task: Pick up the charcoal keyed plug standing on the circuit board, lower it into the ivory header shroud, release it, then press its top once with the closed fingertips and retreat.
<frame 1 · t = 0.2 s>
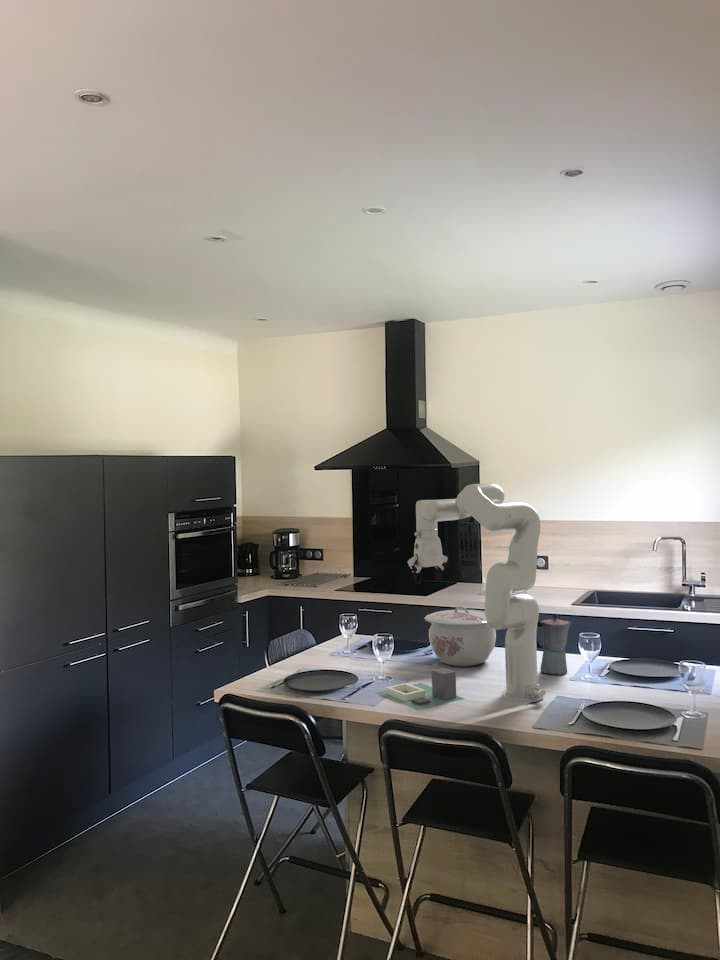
hand: (428, 582, 270), 31 cm above the table, fingers open, 9 cm apart
chamber pot: (463, 662, 278), on the table
board: (419, 699, 233), on the table
plug: (444, 697, 231), point 1 cm above the table, touching board
moka pot: (553, 673, 260), on the table
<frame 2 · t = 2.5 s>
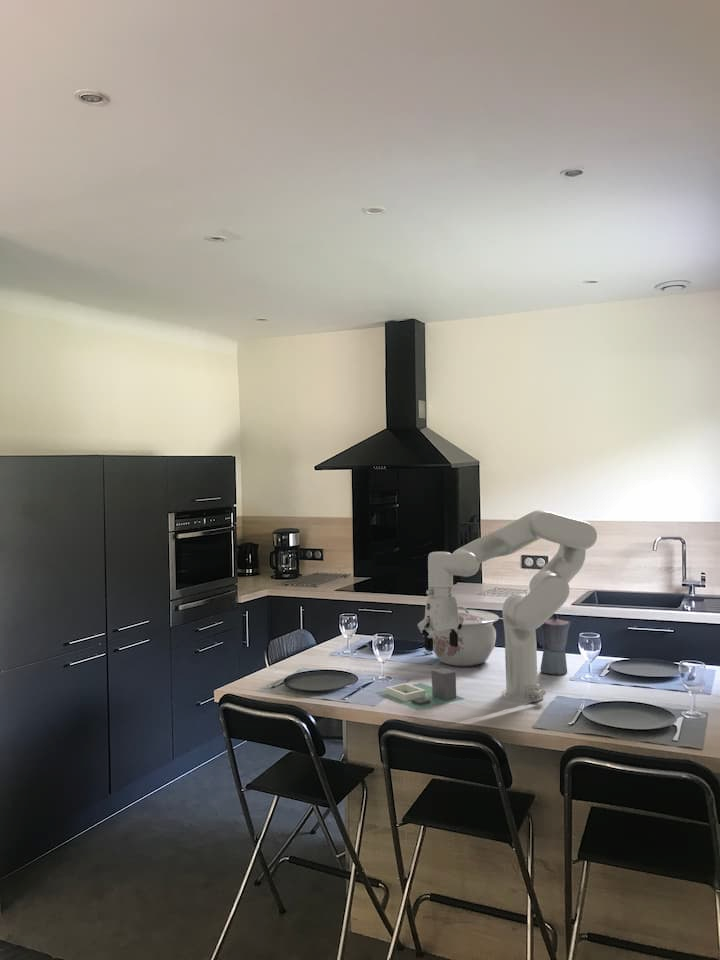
hand: (441, 648, 231), 16 cm above the table, fingers open, 9 cm apart
nothing on the table moved.
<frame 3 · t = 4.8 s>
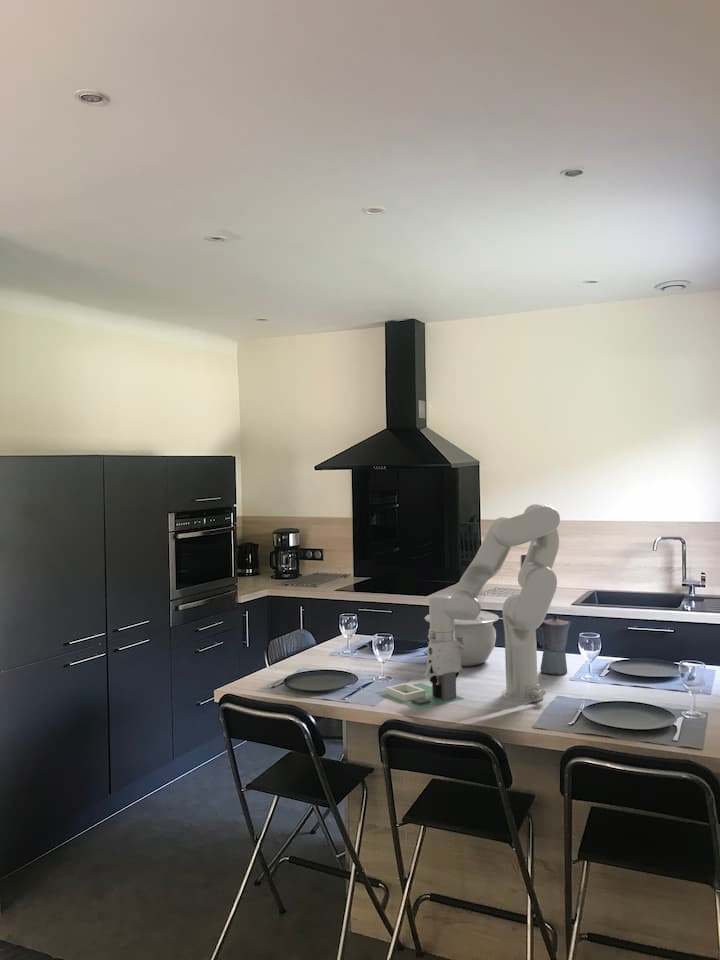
hand: (444, 694, 231), 2 cm above the table, fingers closed on plug, 4 cm apart
plug: (444, 697, 231), point 1 cm above the table, touching board, gripper
everything else where it was.
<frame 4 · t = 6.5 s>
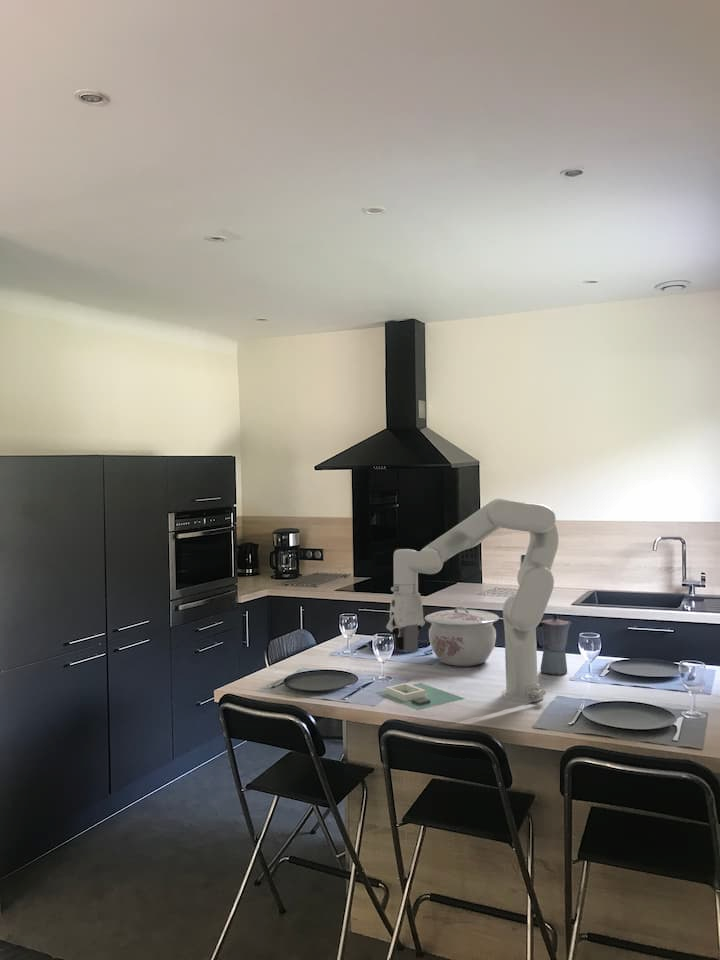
hand: (406, 647, 234), 16 cm above the table, fingers closed on plug, 4 cm apart
plug: (406, 649, 234), point 16 cm above the table, touching gripper
everything else where it was.
when the fingers open (4 cm above the table, at t = 8.3 s): plug drops 2 cm, resting on board.
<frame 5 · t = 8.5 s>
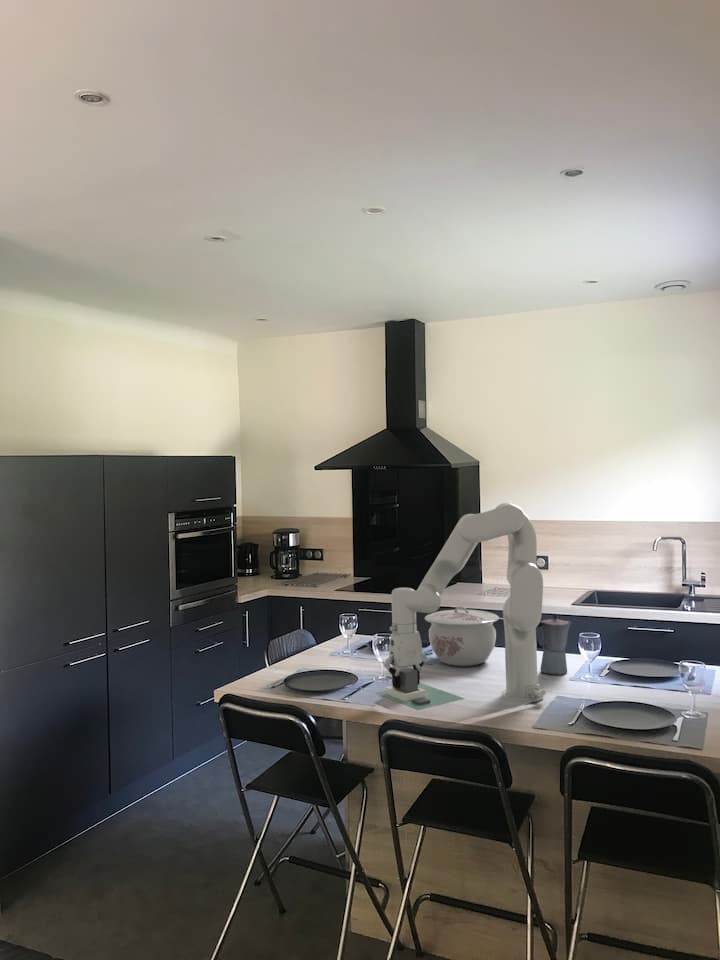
hand: (406, 685, 234), 4 cm above the table, fingers open, 6 cm apart
plug: (406, 695, 234), point 1 cm above the table, touching board
everything else where it was.
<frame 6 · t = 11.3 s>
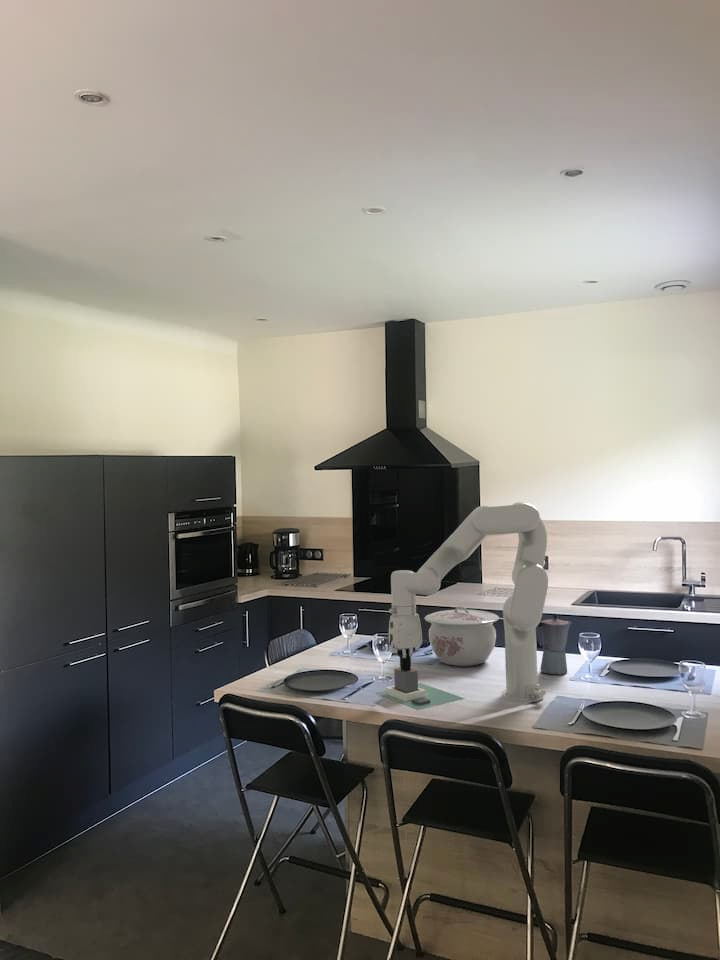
hand: (405, 669, 234), 9 cm above the table, fingers closed
plug: (406, 695, 234), point 1 cm above the table, touching board, gripper
everything else where it was.
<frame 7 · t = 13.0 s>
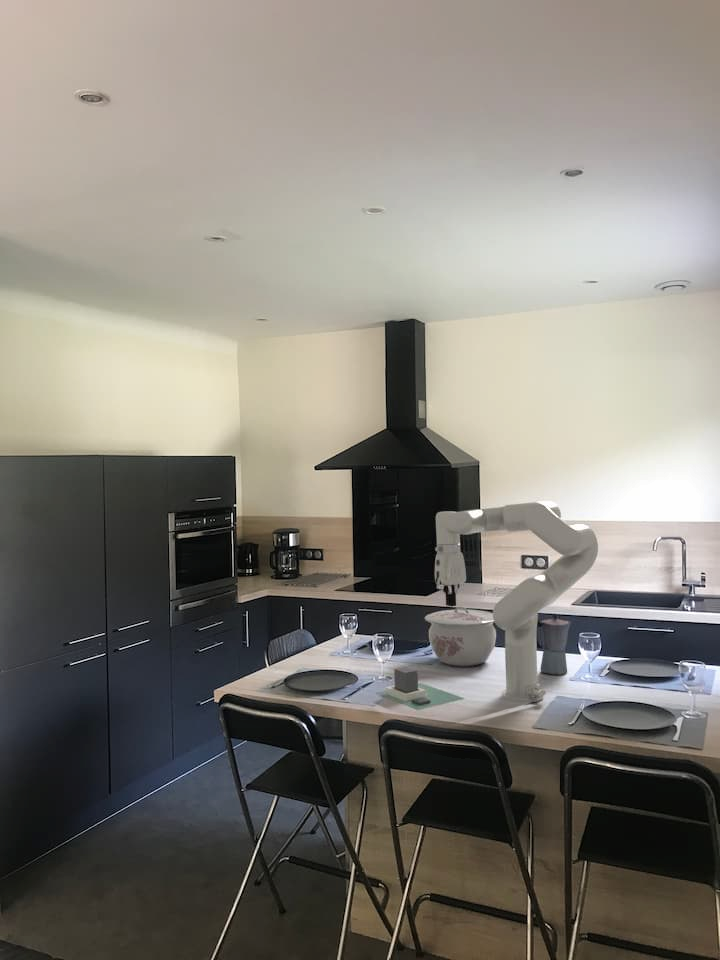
hand: (451, 605, 246), 27 cm above the table, fingers closed
plug: (406, 695, 234), point 1 cm above the table, touching board
everything else where it was.
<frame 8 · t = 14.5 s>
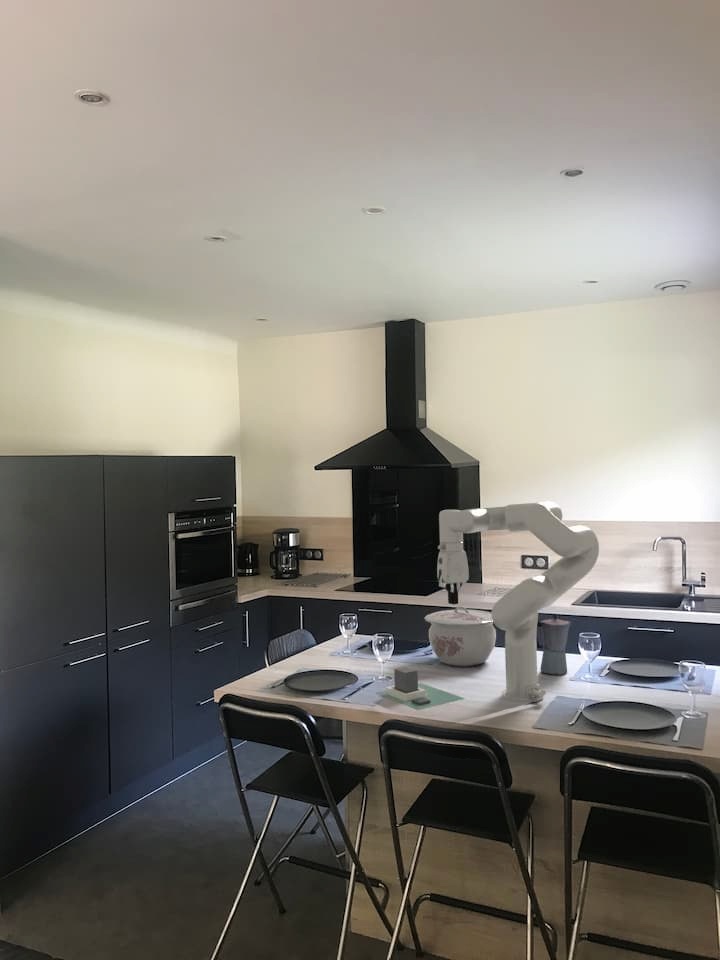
hand: (453, 603, 247), 27 cm above the table, fingers closed
nothing on the table moved.
at the end: plug 0.1 cm from the target spot on the board, point 1.2 cm above the board's base; plug tilted 0°; the gripper is holding nothing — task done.
